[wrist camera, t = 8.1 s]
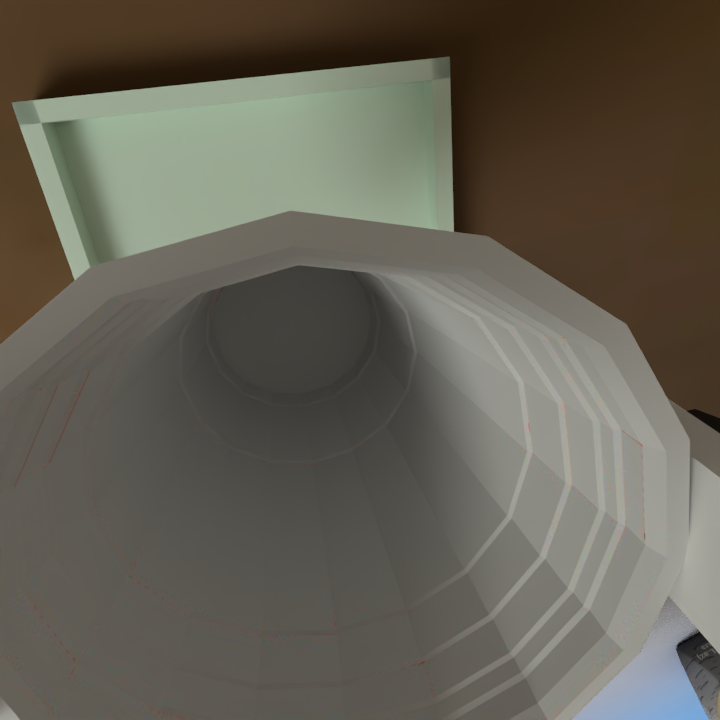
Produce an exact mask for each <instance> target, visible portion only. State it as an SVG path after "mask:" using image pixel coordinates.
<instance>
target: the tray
mask: <svg viewBox="0 0 720 720" xmlns="http://www.w3.org/2000/svg"><path fill="white" fill-rule="evenodd" d="M12 106H13V108H14V111H15V114H16V117H17V120H18V122H19V125H20V128H21V131H22V134H23V136H24V139H25V142H26V145H27V148H28V150H29V153H30V156H31V159H32V162H33V164H34V167H35V170H36V173H37V176H38V178H39V181H40V184H41V187H42V190H43V192H44V195H45V198H46V201H47V204H48V206H49V209H50V212H51V215H52V218H53V220H54V223H55V226H56V229H57V232H58V234H59V237H60V240H61V243H62V246H63V248H64V251H65V254H66V257H67V260H68V262H69V265H70V268H71V271H72V274H73V276H74V279H75V280H76V279H77V278H78V277H79V276H80V275H82V274H83V273H84V272H85V271H86V270H87V269H88V268H90V267H91V266H95V265H98V264H102V263H106V262H109V261H113V260H116V259H120V258H123V257H127V256H130V255H134V254H138V253H141V252H145V251H148V250H152V249H155V248H159V247H162V246H166V245H170V244H173V243H177V242H180V241H184V240H187V239H191V238H194V237H198V236H202V235H205V234H209V233H212V232H216V231H219V230H223V229H226V228H230V227H234V226H237V225H241V224H244V223H248V222H251V221H255V220H258V219H262V218H266V217H269V216H273V215H276V214H280V213H283V212H287V211H290V210H291V211H298V212H306V213H314V214H321V215H329V216H337V217H344V218H352V219H360V220H367V221H375V222H382V223H390V224H398V225H405V226H413V227H421V228H428V229H436V230H444V231H451V232H454V214H453V172H452V130H451V88H450V57H441V58H432V59H422V60H413V61H403V62H394V63H384V64H375V65H365V66H356V67H346V68H337V69H327V70H317V71H308V72H298V73H289V74H279V75H270V76H260V77H251V78H241V79H232V80H222V81H213V82H203V83H193V84H184V85H174V86H165V87H155V88H146V89H136V90H127V91H117V92H108V93H98V94H89V95H79V96H69V97H60V98H50V99H41V100H31V101H22V102H12Z"/></svg>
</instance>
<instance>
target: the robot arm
mask: <svg viewBox="0 0 720 720" xmlns="http://www.w3.org/2000/svg"><path fill="white" fill-rule="evenodd" d="M667 399H668V398H667ZM668 401H669V402H670V404H671V406H672V408H673V410H674V412H675V413H676V415H677V417H678V419H679V421H680V422H681V424H682V426H683V428H684V430H685V432H686V433H687V435H688V437H689V439H690V483H689V541H688V547H687V552H686V557H685V562H684V564H683V566H682V568H681V570H680V572H679V574H678V576H677V578H676V580H675V582H674V584H673V587H672V589H671V591H670V593H669V595H668V596H669V597H670V598H671V599H672V600H673V601H674V603H675V604H676V605H677V606H678V607H679V608H680V609H681V611H682V612H683V613H684V614H685V615H686V616H687V617H688V619H689V620H690V621H691V622H692V623H693V624H694V625H695V627H696V628H697V629H698V630H699V631H700V632H701V634H702V635H703V636H704V637H705V638H706V639H707V640H708V642H709V643H710V644H711V645H712V646H713V647H714V648H715V650H716V651H717V652H718V653H719V654H720V418H717V417H715V416H712V415H709V414H707V413H704V412H702V411H699V410H696V409H694V410H689V411H685V410H684V409H683V408H681V407H680V406H678V405H677V404H675V403H674V402H672V401H671V400H669V399H668Z"/></svg>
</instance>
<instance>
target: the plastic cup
mask: <svg viewBox="0 0 720 720" xmlns="http://www.w3.org/2000/svg"><path fill="white" fill-rule="evenodd" d="M689 483H690V439H689V437H688V435H687V433H686V432H685V430H684V428H683V426H682V424H681V422H680V421H679V419H678V417H677V415H676V413H675V412H674V410H673V408H672V406H671V404H670V402H669V401H668V399H667V397H666V395H665V393H664V392H663V390H662V388H661V386H660V384H659V382H658V381H657V379H656V377H655V375H654V373H653V372H652V370H651V368H650V366H649V364H648V362H647V361H646V359H645V357H644V355H643V353H642V352H641V350H640V348H639V346H638V344H637V342H636V341H635V339H634V337H633V335H632V333H631V332H630V330H629V328H628V326H627V325H626V324H625V323H623V322H622V321H620V320H619V319H617V318H615V317H614V316H612V315H611V314H609V313H608V312H606V311H604V310H603V309H601V308H600V307H598V306H597V305H595V304H593V303H592V302H590V301H589V300H587V299H586V298H584V297H582V296H581V295H579V294H578V293H576V292H575V291H573V290H571V289H570V288H568V287H567V286H565V285H564V284H562V283H560V282H559V281H557V280H556V279H554V278H553V277H551V276H549V275H548V274H546V273H545V272H543V271H542V270H540V269H538V268H537V267H535V266H534V265H532V264H531V263H529V262H527V261H526V260H524V259H523V258H521V257H519V256H518V255H516V254H515V253H513V252H512V251H510V250H508V249H507V248H505V247H504V246H502V245H501V244H499V243H497V242H496V241H494V240H493V239H491V238H490V237H488V236H482V235H474V234H467V233H459V232H451V231H444V230H436V229H428V228H421V227H413V226H405V225H398V224H390V223H382V222H375V221H367V220H360V219H352V218H344V217H337V216H329V215H321V214H314V213H306V212H298V211H291V210H290V211H287V212H283V213H280V214H276V215H273V216H269V217H266V218H262V219H258V220H255V221H251V222H248V223H244V224H241V225H237V226H234V227H230V228H226V229H223V230H219V231H216V232H212V233H209V234H205V235H202V236H198V237H194V238H191V239H187V240H184V241H180V242H177V243H173V244H170V245H166V246H162V247H159V248H155V249H152V250H148V251H145V252H141V253H138V254H134V255H130V256H127V257H123V258H120V259H116V260H113V261H109V262H106V263H102V264H98V265H95V266H91V267H90V268H88V269H87V270H86V271H85V272H84V273H83V274H82V275H80V276H79V277H78V278H77V279H76V280H75V281H73V282H72V283H71V284H70V285H69V286H68V287H66V288H65V289H64V290H63V291H62V292H61V293H59V294H58V295H57V296H56V297H55V298H54V299H53V300H51V301H50V302H49V303H48V304H47V305H46V306H44V307H43V308H42V309H41V310H40V311H39V312H37V313H36V314H35V315H34V316H33V317H32V318H31V319H29V320H28V321H27V322H26V323H25V324H24V325H22V326H21V327H20V328H19V329H18V330H17V331H15V332H14V333H13V334H12V335H11V336H10V337H8V338H7V339H6V340H5V341H4V342H3V343H2V344H0V720H571V719H572V718H573V717H575V716H576V715H577V714H578V713H579V712H580V711H581V710H582V709H583V708H584V707H585V706H586V705H587V704H588V703H589V702H590V701H591V700H592V699H593V698H594V697H595V696H596V695H597V694H598V693H599V692H600V691H601V690H602V689H603V688H604V687H605V686H606V685H607V684H608V683H609V682H610V681H611V680H612V679H613V678H614V677H615V676H616V675H617V674H618V673H619V672H621V671H622V670H623V669H624V668H625V667H626V666H627V665H628V664H629V663H630V662H631V661H632V660H633V659H634V658H635V657H636V656H637V655H638V654H639V653H640V652H641V650H642V648H643V646H644V644H645V642H646V640H647V638H648V636H649V633H650V631H651V629H652V627H653V625H654V623H655V621H656V619H657V617H658V615H659V613H660V611H661V609H662V607H663V605H664V603H665V601H666V599H667V597H668V595H669V593H670V591H671V589H672V587H673V584H674V582H675V580H676V578H677V576H678V574H679V572H680V570H681V568H682V566H683V564H684V562H685V557H686V552H687V547H688V541H689Z"/></svg>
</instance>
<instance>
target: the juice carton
mask: <svg viewBox="0 0 720 720" xmlns="http://www.w3.org/2000/svg"><path fill="white" fill-rule="evenodd" d="M676 650H677V653H678V656H679V658H680V660H681V663H682V665H683V667H684V669H685V671H686V674H687V676H688V678H689V680H690V682H691V684H692V686H693V688H694V690H695V692H696V694H697V696H698V698H699V701H700V703H701V705H702V707H703V709H704V711H705V713H706V715H707V716H708V718H709V720H720V654H719V653H718V652H717V651H716V650H715V648H714V647H713V646H712V645H711V644H710V643H709V642H708V640H707V639H706V638H705V637H704V636H703V635H702V634H700V635H698V636H696V637H694V638H692V639H690V640H688V641H687V642H685V643H683V644H682V645H680V646H679V647H678V648H677V649H676Z"/></svg>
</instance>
